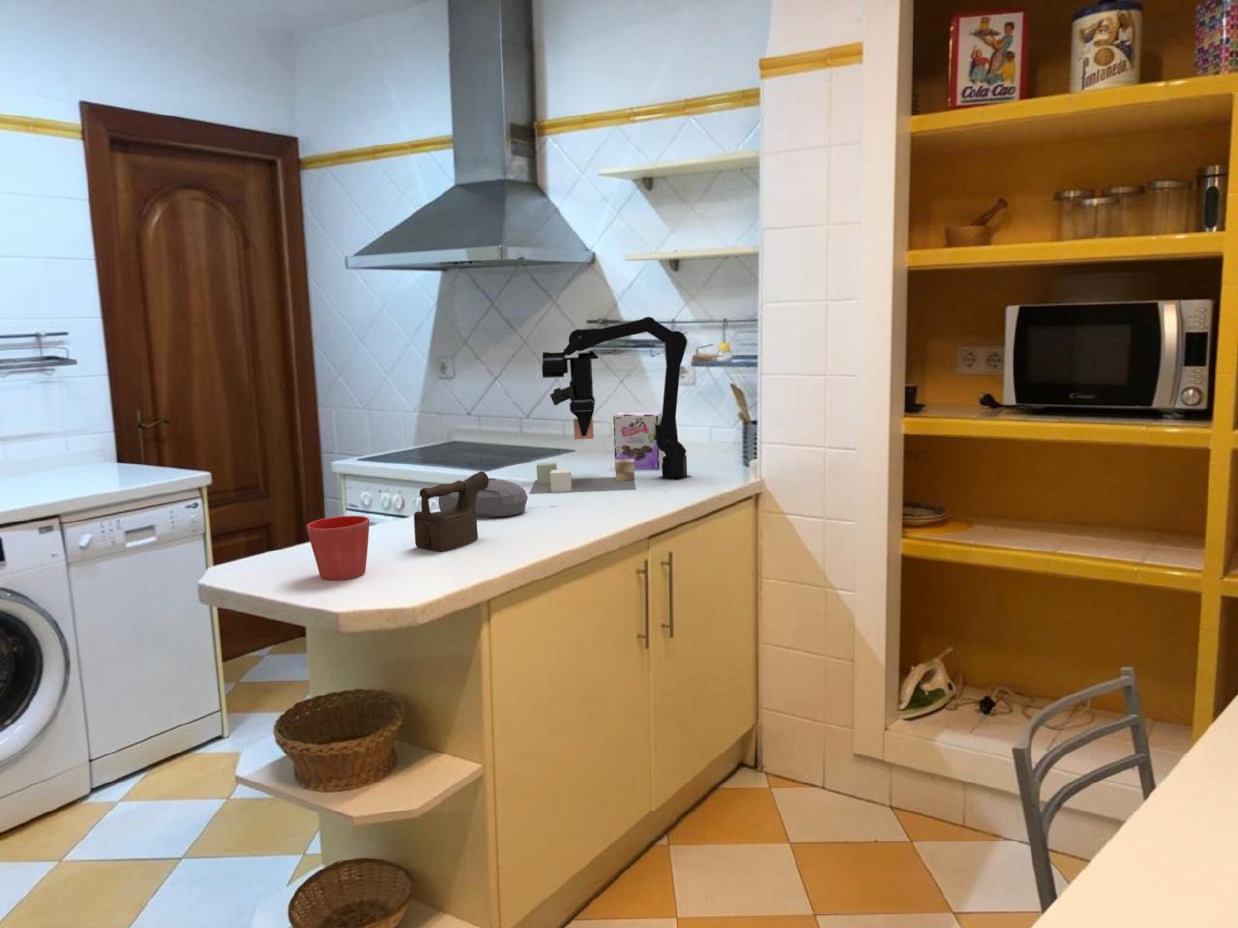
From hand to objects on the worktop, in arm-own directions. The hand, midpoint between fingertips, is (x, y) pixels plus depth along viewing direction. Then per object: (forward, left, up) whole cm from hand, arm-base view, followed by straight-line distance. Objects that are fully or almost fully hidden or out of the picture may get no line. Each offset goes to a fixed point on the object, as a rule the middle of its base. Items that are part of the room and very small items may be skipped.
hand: (584, 434), depth 257 cm
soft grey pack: (+42, +11, -13) cm, 45 cm away
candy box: (-24, -3, -13) cm, 28 cm away
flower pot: (+92, +36, -13) cm, 99 cm away
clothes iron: (+65, +32, -13) cm, 73 cm away
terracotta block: (0, 0, -1) cm, 1 cm away
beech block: (-8, +7, -12) cm, 16 cm away
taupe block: (+14, +6, -12) cm, 20 cm away
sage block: (+8, -7, -12) cm, 16 cm away
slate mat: (+5, +4, -13) cm, 15 cm away
